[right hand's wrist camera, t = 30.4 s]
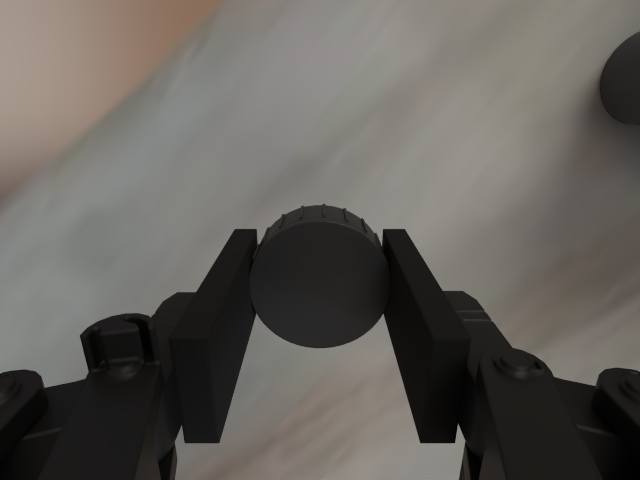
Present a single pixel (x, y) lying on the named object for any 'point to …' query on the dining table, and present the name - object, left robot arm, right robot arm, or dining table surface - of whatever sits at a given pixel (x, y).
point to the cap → (319, 277)
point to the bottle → (623, 82)
